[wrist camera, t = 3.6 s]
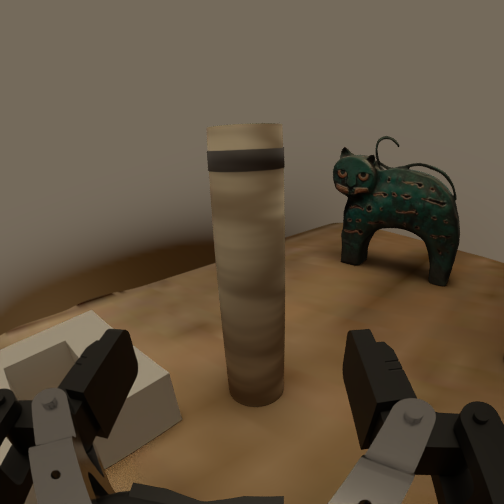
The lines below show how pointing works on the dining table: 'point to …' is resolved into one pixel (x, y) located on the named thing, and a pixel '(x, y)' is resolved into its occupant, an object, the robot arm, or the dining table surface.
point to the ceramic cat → (397, 209)
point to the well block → (59, 364)
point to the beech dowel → (250, 255)
